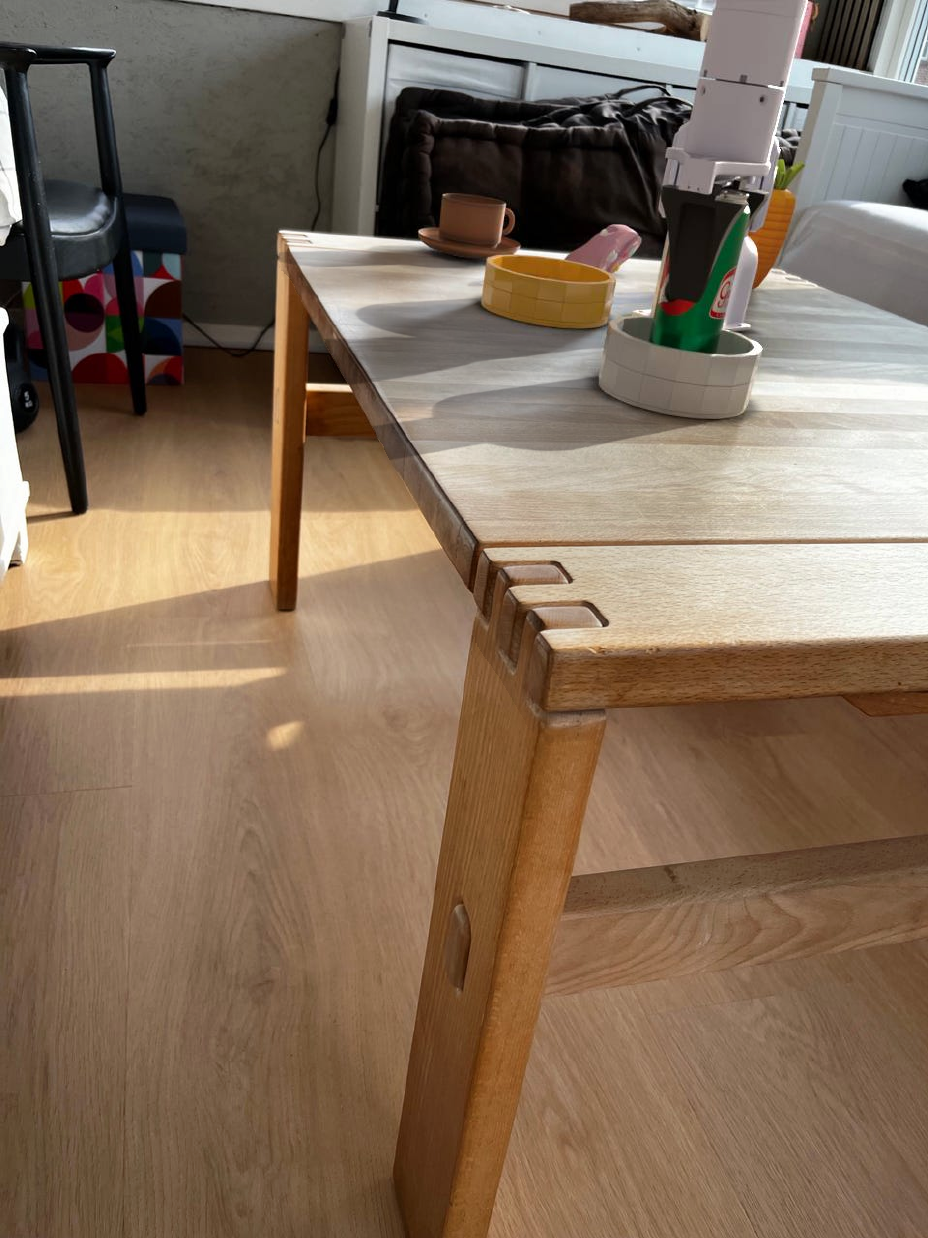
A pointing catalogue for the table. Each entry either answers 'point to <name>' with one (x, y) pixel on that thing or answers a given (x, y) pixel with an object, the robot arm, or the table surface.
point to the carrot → (775, 221)
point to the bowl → (547, 291)
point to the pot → (677, 372)
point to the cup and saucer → (471, 228)
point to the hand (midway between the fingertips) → (694, 294)
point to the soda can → (702, 320)
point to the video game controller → (608, 248)
